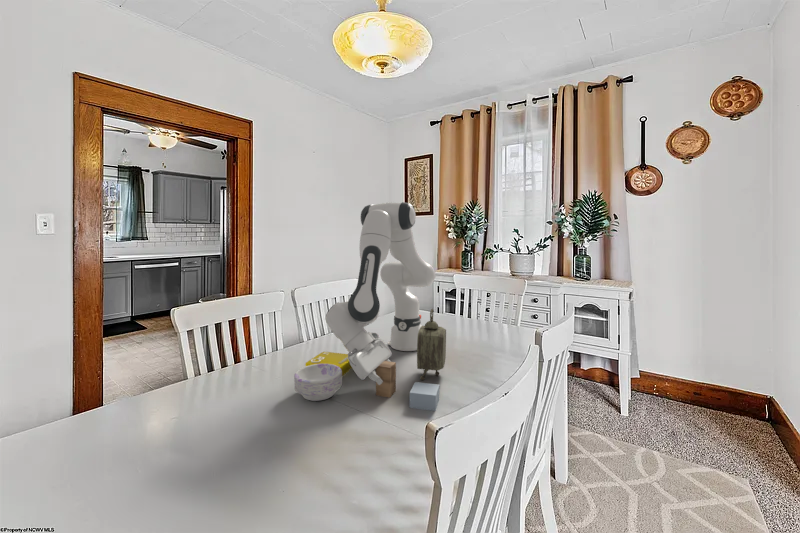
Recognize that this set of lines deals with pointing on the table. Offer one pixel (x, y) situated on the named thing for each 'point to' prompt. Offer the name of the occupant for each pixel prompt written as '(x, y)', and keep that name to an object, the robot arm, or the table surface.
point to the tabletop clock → (431, 347)
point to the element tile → (332, 360)
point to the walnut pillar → (386, 379)
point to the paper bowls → (318, 381)
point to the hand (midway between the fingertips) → (387, 377)
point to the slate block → (424, 396)
